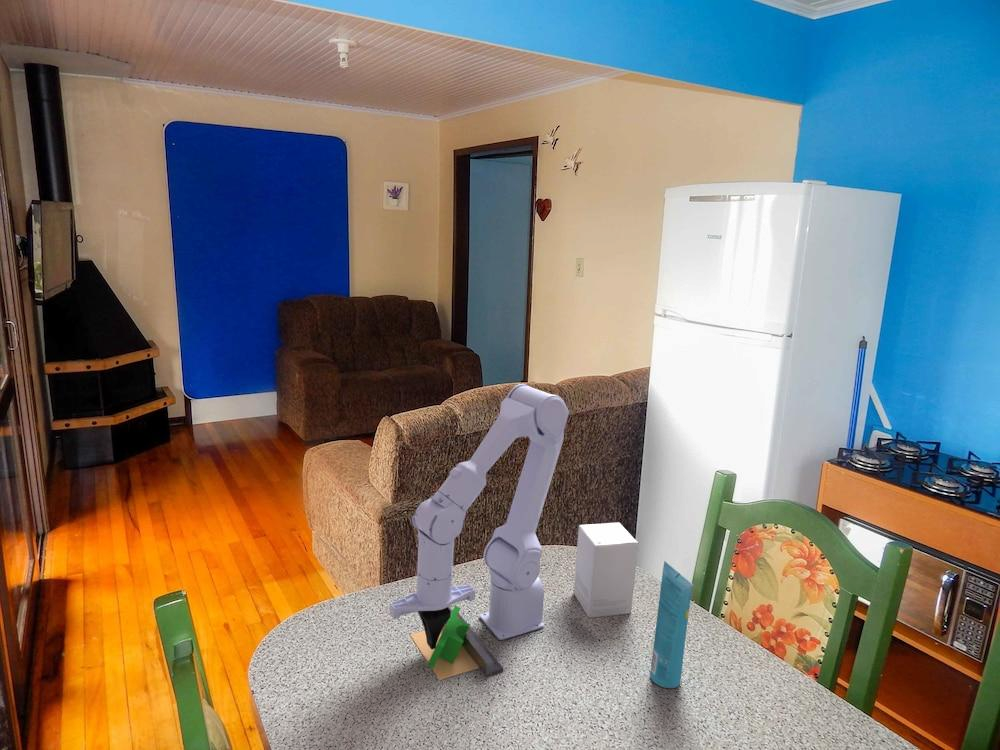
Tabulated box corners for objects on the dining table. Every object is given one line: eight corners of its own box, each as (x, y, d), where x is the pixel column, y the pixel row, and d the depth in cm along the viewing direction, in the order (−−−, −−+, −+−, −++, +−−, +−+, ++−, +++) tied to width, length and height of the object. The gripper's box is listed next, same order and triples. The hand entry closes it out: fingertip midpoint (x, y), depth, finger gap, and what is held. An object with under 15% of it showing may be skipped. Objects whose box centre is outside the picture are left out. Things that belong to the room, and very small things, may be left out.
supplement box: (632, 614, 123) (640, 542, 120) (588, 619, 121) (594, 546, 118) (614, 588, 132) (620, 521, 129) (572, 592, 130) (577, 523, 127)
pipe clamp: (447, 676, 104) (458, 654, 103) (426, 665, 105) (437, 643, 103) (464, 634, 115) (474, 614, 114) (445, 624, 115) (455, 604, 114)
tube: (691, 689, 104) (705, 581, 100) (668, 697, 102) (681, 587, 97) (661, 661, 110) (673, 558, 106) (638, 668, 108) (649, 564, 104)
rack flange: (456, 613, 121) (456, 601, 121) (503, 671, 106) (504, 657, 105) (404, 627, 116) (404, 614, 116) (446, 690, 101) (446, 676, 100)
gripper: (464, 552, 113) (459, 622, 116) (384, 568, 106) (381, 642, 109) (482, 571, 107) (477, 645, 110) (399, 590, 100) (396, 667, 103)
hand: (431, 645), depth 109 cm, fingers closed, pressing on pipe clamp
